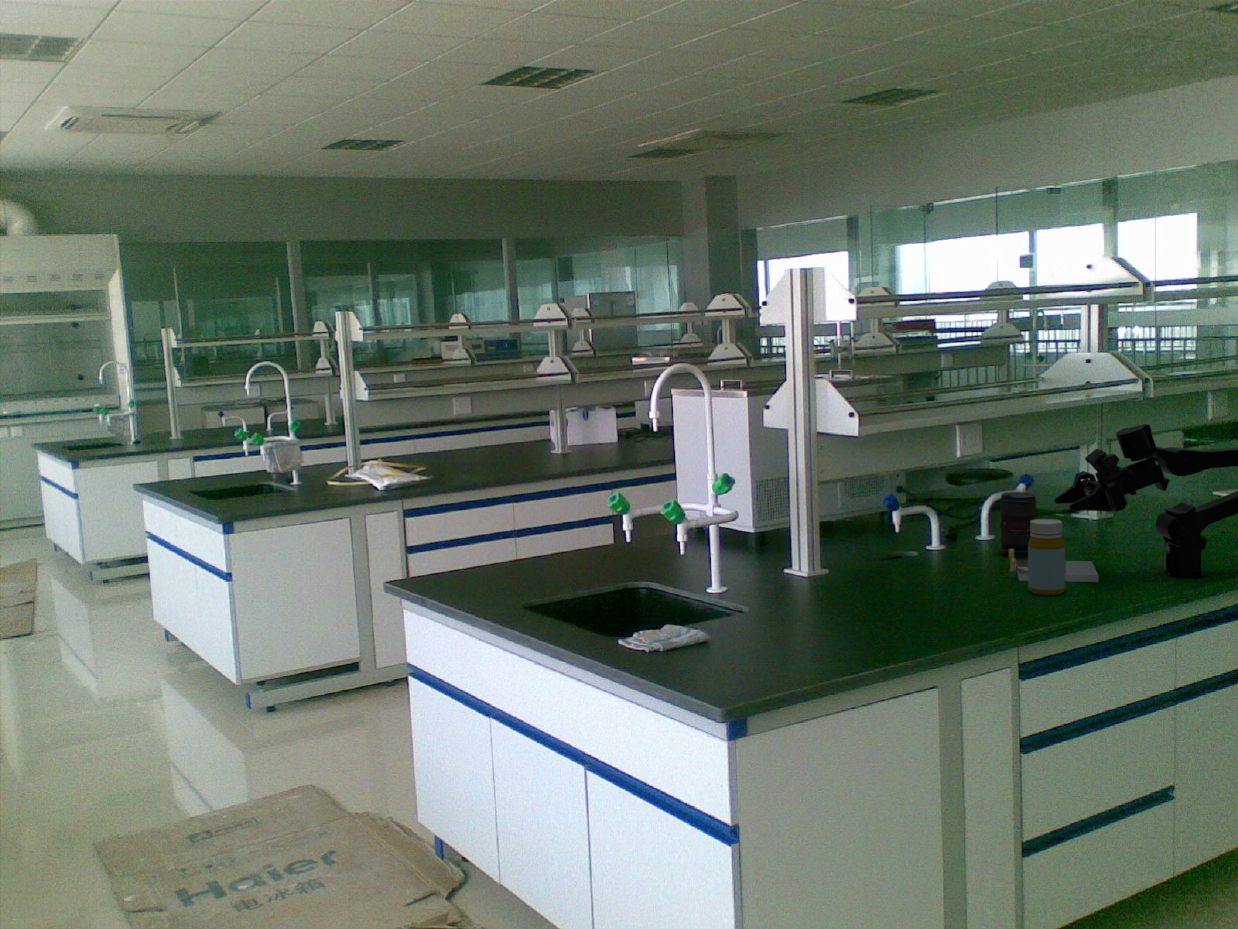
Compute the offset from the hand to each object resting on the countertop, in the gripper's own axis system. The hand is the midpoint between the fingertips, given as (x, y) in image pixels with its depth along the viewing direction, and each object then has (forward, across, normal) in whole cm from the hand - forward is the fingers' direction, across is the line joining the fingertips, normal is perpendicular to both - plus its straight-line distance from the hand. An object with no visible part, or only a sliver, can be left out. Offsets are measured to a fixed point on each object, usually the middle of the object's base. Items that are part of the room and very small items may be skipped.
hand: (1062, 504), depth 235 cm
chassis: (+5, -5, +16) cm, 17 cm away
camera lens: (+7, -26, +15) cm, 31 cm away
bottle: (+12, +11, +13) cm, 21 cm away
